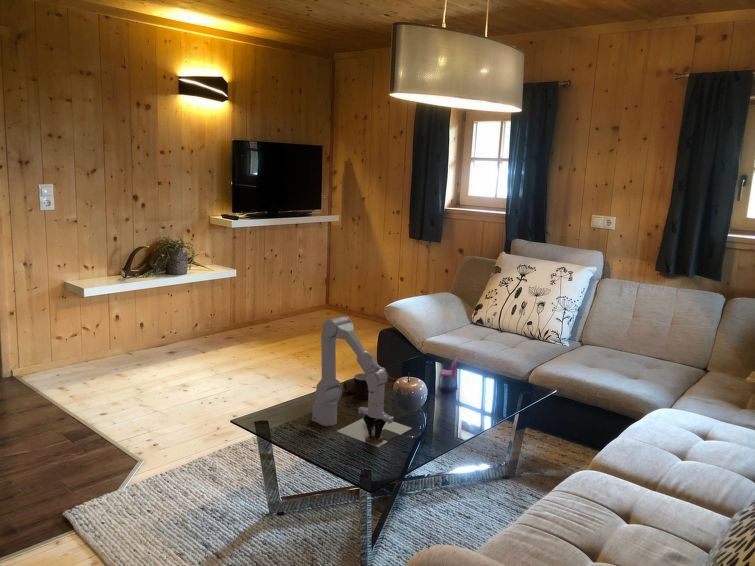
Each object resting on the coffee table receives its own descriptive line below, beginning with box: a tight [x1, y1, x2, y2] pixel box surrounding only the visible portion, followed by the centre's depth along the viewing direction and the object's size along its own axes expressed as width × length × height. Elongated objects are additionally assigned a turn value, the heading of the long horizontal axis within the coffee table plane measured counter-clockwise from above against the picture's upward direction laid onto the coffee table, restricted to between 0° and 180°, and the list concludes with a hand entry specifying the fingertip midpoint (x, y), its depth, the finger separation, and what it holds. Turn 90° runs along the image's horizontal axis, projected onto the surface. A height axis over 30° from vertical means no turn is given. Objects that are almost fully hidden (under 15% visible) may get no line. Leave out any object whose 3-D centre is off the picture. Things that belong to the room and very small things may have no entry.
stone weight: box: [342, 377, 355, 394], centre depth 278 cm, size 15×7×7 cm, turn 125°
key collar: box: [365, 436, 384, 445], centre depth 227 cm, size 5×5×2 cm
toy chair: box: [438, 356, 459, 391], centre depth 287 cm, size 8×9×15 cm
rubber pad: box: [380, 429, 401, 442], centre depth 232 cm, size 7×7×1 cm
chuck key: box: [371, 425, 378, 440], centre depth 226 cm, size 2×4×6 cm, turn 143°
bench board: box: [336, 417, 413, 448], centre depth 237 cm, size 20×22×1 cm
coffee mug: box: [353, 372, 369, 400], centre depth 270 cm, size 12×9×10 cm
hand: (374, 436), depth 227 cm, fingers closed on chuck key, 2 cm apart
